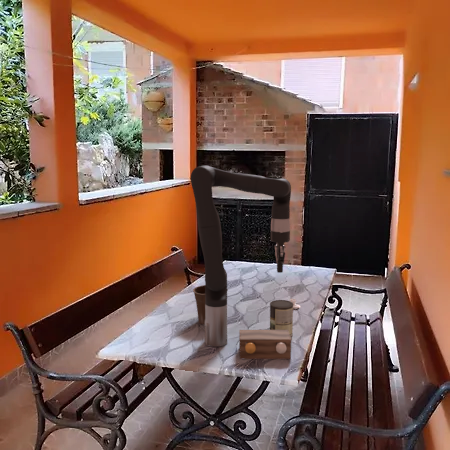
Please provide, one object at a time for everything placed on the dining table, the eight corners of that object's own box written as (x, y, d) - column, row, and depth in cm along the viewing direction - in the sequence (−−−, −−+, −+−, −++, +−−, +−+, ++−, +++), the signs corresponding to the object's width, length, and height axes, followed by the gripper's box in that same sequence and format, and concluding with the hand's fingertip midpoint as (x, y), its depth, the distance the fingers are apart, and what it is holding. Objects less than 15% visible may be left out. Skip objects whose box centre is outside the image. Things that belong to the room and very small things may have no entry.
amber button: (255, 353, 188) (255, 343, 187) (245, 353, 188) (245, 343, 187) (254, 346, 194) (254, 337, 193) (244, 346, 194) (244, 337, 193)
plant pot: (197, 329, 220) (197, 295, 218) (190, 317, 236) (190, 286, 233) (231, 326, 225) (231, 292, 222) (222, 314, 240) (222, 283, 237)
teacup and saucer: (300, 310, 247) (300, 303, 246) (284, 309, 248) (284, 302, 248) (300, 305, 255) (301, 297, 255) (285, 304, 257) (285, 296, 256)
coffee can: (265, 334, 215) (265, 303, 213) (277, 327, 223) (278, 298, 220) (284, 340, 208) (285, 308, 206) (297, 333, 216) (297, 302, 214)
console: (290, 358, 190) (291, 339, 189) (240, 358, 190) (240, 339, 189) (287, 348, 200) (288, 329, 198) (239, 348, 200) (239, 329, 199)
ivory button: (286, 353, 188) (286, 343, 187) (276, 353, 188) (276, 343, 187) (284, 346, 194) (284, 337, 193) (274, 346, 194) (274, 337, 193)
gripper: (269, 226, 196) (269, 268, 199) (272, 232, 183) (271, 276, 186) (287, 226, 196) (287, 268, 199) (292, 232, 183) (291, 276, 186)
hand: (279, 272), depth 193 cm, fingers closed
